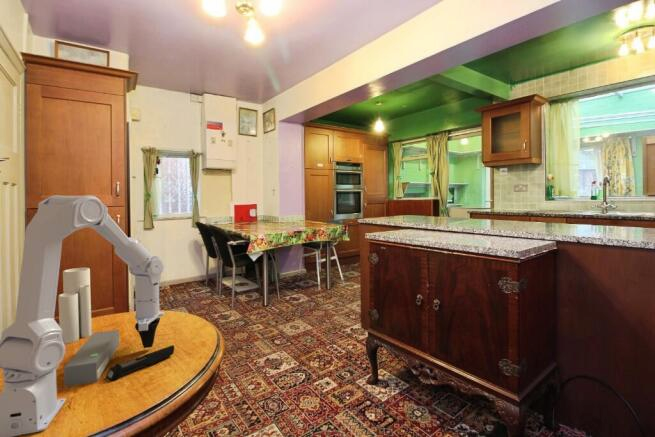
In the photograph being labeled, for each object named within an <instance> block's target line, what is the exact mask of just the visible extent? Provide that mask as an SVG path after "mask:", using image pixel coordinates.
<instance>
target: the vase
mask: <svg viewBox="0 0 655 437" xmlns="http://www.w3.org/2000/svg"><path fill="white" fill-rule="evenodd" d="M62 283H63V284H62V286H63V287H62V288H63V289H62V291H63V293H61V294H58V318H59V319H58V321H59V322H58V325H59V326H60V328H61V329H62V340H63V342H64V344H65V345H66V344H71V343H75V342H77V341H79V339H80V338H88V337H89V338H90V337H91V335H92V303H91V302H92V301H91V300H92V298H91V297H92V296H91V269H90V268H89V267H78V268H77V267H76V268H69V269H64V270H62Z"/></svg>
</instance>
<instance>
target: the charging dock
mask: <svg viewBox="0 0 655 437" xmlns="http://www.w3.org/2000/svg"><path fill="white" fill-rule="evenodd" d="M119 346H120V330H119V329H114V330H105V331H104V330H103V331H97V332H93V333H91V336H89V338H88V339H87V340H86V341H85V342H84V344H83V345H82V346H81V347H80V348H79V349H78V350H77V352H76V353H75V354H74V355H73V356H72V357H71V358H70V360H69V361H68V362H67V363H66V364H65V366H64V367H63V373H64V374H63V375H64V376H63V377H64V381H63V382H64V387H65V388H67V387H72V386H78V385H85V384H92V383H98V380H99V379H100V377H101V376H102V374H103V373H104V371H105V369H106V367H107V366H108V364H109V362H110V361H111V359H112V358H113V356H114V354H115V352H116V351H117V349H118V348H119Z"/></svg>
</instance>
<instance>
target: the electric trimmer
mask: <svg viewBox="0 0 655 437" xmlns="http://www.w3.org/2000/svg"><path fill="white" fill-rule="evenodd" d="M174 352H175V345H169V346H167V347H163V348H160V349H158V350H154V351H153V352H149V353H146V354H144V355H141V356H138V357H135V358H134V359H130V360H128V361H125V362H122V363H116V364H115V365H113V366H111V367H110V368H108V371H107V373H106V376H105V377H106V380H108V381H109V382H114V381H115V382H116V381H117V380H118V379H119V378H121V377H123V376H126V375H128V374H129V373H133V372H135V371H137V370H140V369H142V368H144V367H151V366H154V365H156V364H157V363H160V362H161V361H163V360H165V359H167V358H168V357H171V356H172V355H174Z"/></svg>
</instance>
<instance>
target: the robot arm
mask: <svg viewBox="0 0 655 437" xmlns="http://www.w3.org/2000/svg"><path fill="white" fill-rule="evenodd" d="M37 208H38V209H37V212H35V214H34V216H33V217H32V218H31V220H30V222H29V223H28V224H27V226H26V228H25V233H24V234H25V235H24V242H23V252H22V260H21V270H20V278H19V285H18V292H17V293H18V295H17V300H16V301H17V304H16V310H15V319H14V320H15V321H14V322H13V323H12V324H11V325H9V326H8V327H6V328H4V330H3V331H1V338H0V369H1V372H2V375H3V388H2V391H1V393H0V437H18V436H23V435H28V434H32V433H37V432H41V431H45V430H46V429H47V428H48V427H49V425H50V423H52V421H53V420H54V418H55V416H56V415H57V414H58V412H59V411H60V409H61V408H62V407H63V405H64V404H65V403H66V401H67V398H65V397H64V398H63V397H62V398H58V393H57V392H58V390H57V369H58V368H59V364H61V362H62V361H63V360H64V358H65V354H66V344H64V342H63V340H62V329H61V328H60V326H59V323H57V321H56V320H55V312H56V302H57V293H58V284H59V275H60V267H61V256H62V247H63V246H62V245H63V240H64V239H65V238H67V237H68V236H70V235H71V234H73V233H75V232H76V231H79V230H81V229H84V228H91V229H93V230H94V231H95V232H96V233H98V235H100V236H101V237H103V238H104V239H105V240H106V241H107V242H109V243H110V244H111V245H113V246H114V254H115V255H116V256H118V258H119V259H120V260H122V261H123V262H124V263H125V264H126V265H127V266H128V271H129V273H130V274H131V275H132V276H134V285H135V286H134V289H135V291H134V292H135V315H134V320H135V321H136V323H135V324H134V328H135V330H136V331H137V333H138V335H139V337H140V341H141V345H142V347H143V349H147V348H148V349H149V348H153V345H154V341H155V337H156V332H157V327H158V326H159V324H160V321H161V318H160V317H164V315H165V312H164V311H160V282H161V279H162V273H163V272H164V271H163V270H164V268H165V264H164V263H163V261H162V259H161V258H160V257H159V256H156V255H152V253H151V251H150V250H149V249H147V248H146V247H145V246H144V245H143V244H142V243H141V240H140V239H139V238H137V237H130V236H129V237H128V235H127V234H126V233H125V232H124V231H123V229H121V227H120V226H119V225H118V223H116V222H115V221H114V219H113V218H112V217H111V215H109V213H108V212H109V208H108V206H107V205H105V204H103V202H102V201H101V200H100V199H99V198H98V197H96V196H94V195H60V194H59V195H57V194H55V195H52V196H49V197H47V198H44V199H43V200H42V201H40V202H38V204H37ZM22 434H23V435H22Z"/></svg>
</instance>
